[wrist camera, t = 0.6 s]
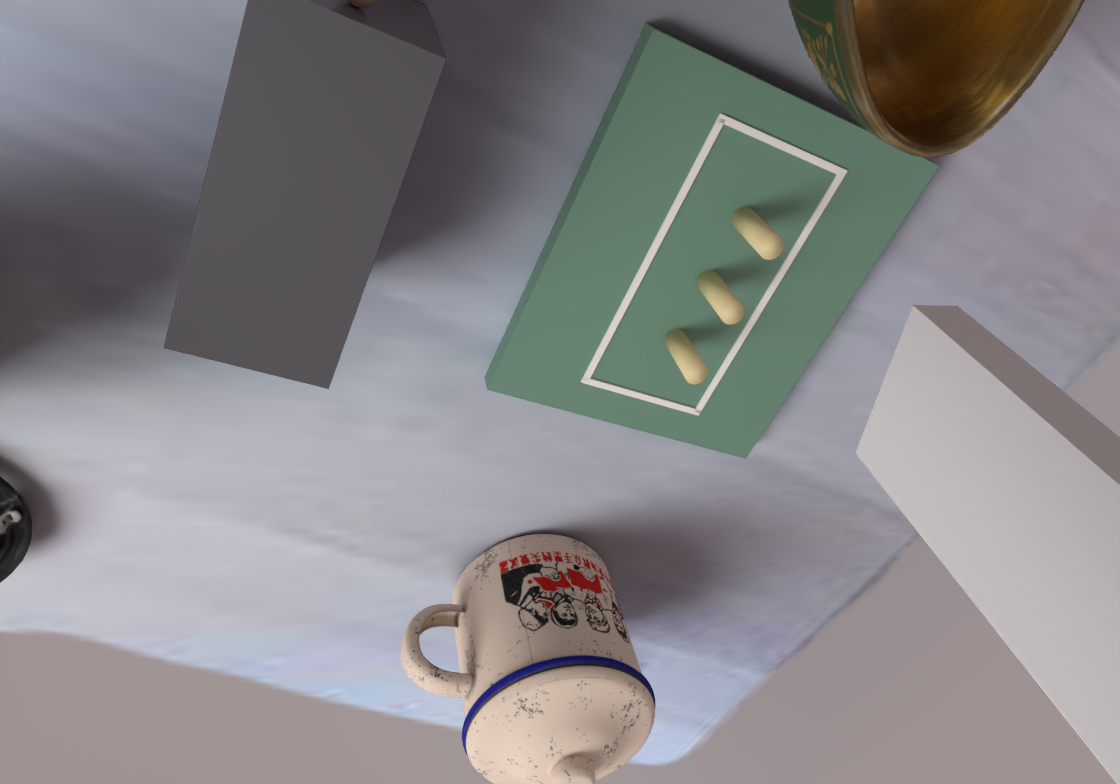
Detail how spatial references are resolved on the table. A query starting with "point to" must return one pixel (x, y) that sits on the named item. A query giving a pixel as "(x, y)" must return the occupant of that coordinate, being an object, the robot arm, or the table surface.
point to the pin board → (702, 251)
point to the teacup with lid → (539, 664)
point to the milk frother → (13, 529)
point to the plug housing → (303, 180)
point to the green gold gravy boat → (930, 62)
